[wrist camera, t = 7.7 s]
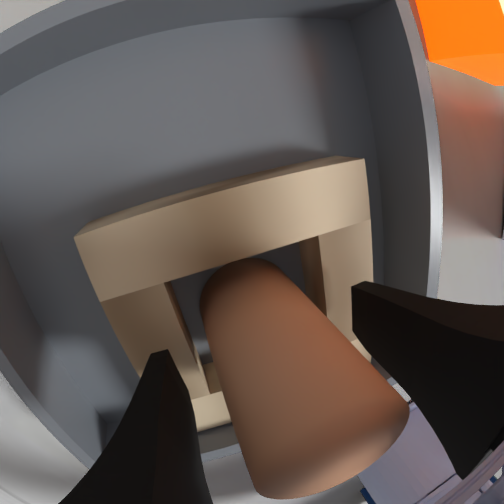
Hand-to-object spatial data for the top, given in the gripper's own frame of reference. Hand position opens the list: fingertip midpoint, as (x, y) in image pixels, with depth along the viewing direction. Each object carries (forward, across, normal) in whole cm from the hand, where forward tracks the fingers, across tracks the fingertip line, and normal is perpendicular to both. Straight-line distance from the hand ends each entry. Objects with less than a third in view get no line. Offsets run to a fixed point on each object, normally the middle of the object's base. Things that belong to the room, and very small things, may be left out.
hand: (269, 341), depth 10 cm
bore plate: (+4, 0, 0) cm, 4 cm away
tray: (+4, +1, -3) cm, 5 cm away
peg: (+3, 0, 0) cm, 3 cm away
